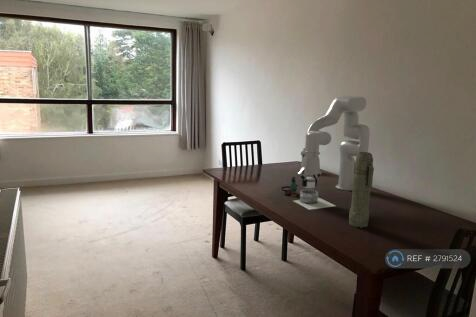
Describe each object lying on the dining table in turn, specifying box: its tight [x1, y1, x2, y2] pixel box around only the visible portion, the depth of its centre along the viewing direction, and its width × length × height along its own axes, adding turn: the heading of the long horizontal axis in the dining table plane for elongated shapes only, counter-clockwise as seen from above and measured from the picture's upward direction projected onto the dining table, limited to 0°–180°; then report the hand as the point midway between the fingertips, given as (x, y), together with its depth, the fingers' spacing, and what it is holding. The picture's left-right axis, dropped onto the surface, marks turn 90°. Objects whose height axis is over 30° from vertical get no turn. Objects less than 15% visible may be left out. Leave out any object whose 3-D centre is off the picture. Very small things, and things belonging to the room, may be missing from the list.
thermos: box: [348, 151, 375, 229], centre depth 168 cm, size 9×12×35 cm
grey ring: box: [299, 188, 319, 204], centre depth 203 cm, size 10×10×6 cm
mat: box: [293, 197, 336, 211], centre depth 200 cm, size 18×16×1 cm
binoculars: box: [280, 176, 299, 197], centre depth 216 cm, size 9×11×10 cm
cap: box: [304, 176, 316, 189], centre depth 201 cm, size 6×6×5 cm
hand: (309, 185), depth 201 cm, fingers closed on cap, 6 cm apart
